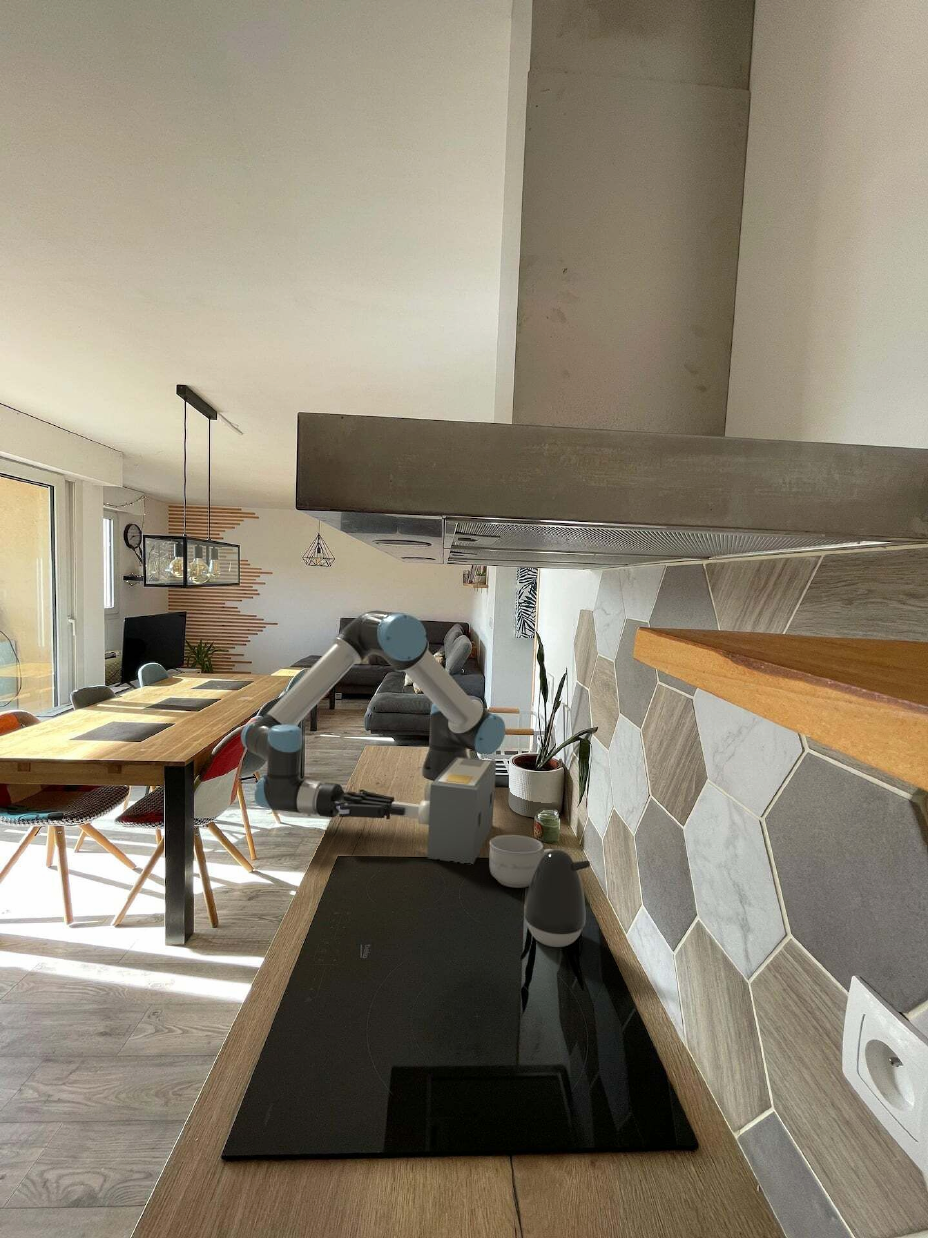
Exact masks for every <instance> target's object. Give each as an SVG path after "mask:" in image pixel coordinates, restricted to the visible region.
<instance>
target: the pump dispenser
mask: <svg viewBox="0 0 928 1238" xmlns="http://www.w3.org/2000/svg"><path fill="white" fill-rule="evenodd" d="M589 867H591V862H590V861H589V860H588V859H587V860H579V861H574V859H573V858H572V856H571V855H570V854H569V852H567V851H566V850H563V849H559V848H558V849H557V848H556V849H553V850H551V851H549V852H547V853H546V854H545V855H544V856H543V858H542V859H541V861H540V862H539V864H538V866H537V868H536V870H535V872H534V875H533V877H532V880H531V883H530V885H529V886H528V891H527V893H526V895H527V896H526V899H525V904H524V918H525V921H526V924H527V928H528V930H529V932H530V933H531V935H532V936H533V938H534V939H535V940H537V941H538V942H539V943H541V944H542V945H545V946H548V947H551V948H552V947H553V948H562V947H567V946H569V945H571V944H573V943H574V942H575V941H576V940H577V939H578V938H579V936H580V935H581V933H582V931H583V928H584V927H585V925H586V916H587V914H586V913H587V912H586V911H587V910H586V900H585V893H584V888H583V883H582V878H581V876H580V872H579V871H580V870H585V869H587V868H589Z"/></svg>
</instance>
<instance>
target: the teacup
mask: <svg viewBox="0 0 928 1238" xmlns="http://www.w3.org/2000/svg"><path fill="white" fill-rule="evenodd" d="M551 850H554V849H552V848H547V849H544V845H543V842H541V841H540V840H538V839H536V838H533V837H529V836H526V835H519V834H518V835H517V834H501V835H497V836H494V837H493V838H490V840H489V855H488V856H489V859H488V860H489V861H488V863H489V864H488V865H489V871H490V874H491V876H492V877H493V878H495V879H496V880H497V882H498V883H499V884H501V885H503V886H505V887H507V888H508V887H509V888H516V889H519V888H521V889H522V888H526V887H529V886H530V883H531V880H532V877H533V875H534V872H535V870H536V868H537V866H538V864H539V862H540V861H541V859H542V858H543V856H544V855H545V854H546V853H547V852H549V851H551Z"/></svg>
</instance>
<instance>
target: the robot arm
mask: <svg viewBox="0 0 928 1238" xmlns="http://www.w3.org/2000/svg"><path fill="white" fill-rule="evenodd" d="M426 635H427V632H426V629H425V627H424V625H423V623H422V622H421V620H419V619H418V618H416V617H415V616H413V615H410V614H407V613H404V612H393V611H382V610H371V611H370V610H369V611H366V612H364V613H362V614H361V615H359V616H357V617H356V618H355V619H353V620H352V621H351V622H350V623H348V624H347V625H346V626H345V627H344V628H343V629H342V630H341V631H340V632H339V633H338V634H337V635H336V636H335V637H334V638H333V643H332V646H331V647H329V648H328V650H327V651H326V652H324V654H323V655H322V656H321V657H320V658H319V659H318V660H317V661H316V662H315V663H314V664H313V665H312V666H311V667H310V669H308V670H307V672H305V674H303V676H302V677H300V679H298V681H296V683H295V684H294V685H293V686H292V687H291V688H290V689H289V690H288V691H287V692H286V693H285V694H284V695H283V696H282V697H280V699H279V700H278V702H276V704H274V706H272V708H271V709H270V710H269V711H268V712H267V713H266V714H265V715H264V716H263V717H262V718H261V719H260V720H254V721H251V722H249V723H247V724H246V725H245V726H244V728H243V729H242V731H241V734H240V740H241V741H240V742H241V744H242V746H243V747H244V748H245V749H246V750H248V752H250V753H251V754H254V755H256V756H258V757H260V758H261V759H263V760H265V761H267V762H266V763H267V764H266V765H267V766H266V767H267V768H266V769H267V771H266V774H265V775H262V776H261V777H260V778H259V779H258V780H257V782H256V785H255V789H254V801H255V803H256V804H257V806H258V807H261V808H263V809H269V810H272V811H277V812H278V811H281V812H289V813H298V814H303V815H305V814H306V815H307V816H308V817H311V816H312V815H313V816H320V817H324V818H335V817H337V816H338V815H339V818H348V817H349V818H351V817H352V818H371V819H384V818H385V817H386V820H390V819H391V816H394V817H401V818H402V817H403V818H409V819H417V820H418V811H419V806H420V803H419V804H418V803H409V802H402V801H395V797H394V796H389V795H383V794H379V793H376V792H375V793H374V792H372V791H371V792H370V791H368V790H365V789H359V791H358V793H357V792H356V791H348V792H345V791H344V789H343V787H342V785H341V784H340V783H333V782H324V781H318V780H311V779H303V778H301V766H302V765H301V763H302V747H303V739H302V738H303V734H302V729H301V727H299V726H297V725H299V723H300V722H301V721H302V720H304V718H305V717H306V716H307V715H308V714H309V713H310V711H311V710H312V709H313V708H314V707H316V706H317V704H318V703H319V702H320V701H321V700H322V699H323V697H325V696H326V695H327V693H328V692H329V691H331V689H333V687H334V686H335V685H336V684H337V683H338V682H339V681H340V680H341V679H342V678H343V677H344V676H345V675H346V674H347V672H348V671H350V669H351V668H352V667H353V666H354V665H360V664H361V663H362V662H363V661H364V660H365V659H366V658H367V657H368V656H369V657H370V656H371V655H377V656H380V657H382V658H383V659H384V660H385V661H386V662H387V663H388V664H389V665H390V666H391V668H392V669H393V670H395V672H404V673H405V674H406V675H407V676H408V677H409V678H410V680H412V682H413V683H414V684H415V685H416V686H417V687H418V688H419V690H421V692H422V693H423V694H424V695H425V696H426V697H427V698H428V699H429V701H431V702H432V704H431V707H430V713H429V717H430V718H429V742H428V751H427V753H426V756H425V758H424V761H423V764H422V767H421V768H422V769H421V775H422V776H423V777H425V778H427V779H429V780H432V781H435V780H436V778H437V777H438V776H439V775H440V774H441V773H442V772H443V771H444V770H445V769H446V768H447V767H448V766H449V764H450V763H451V762H452V761H453V760H454V759H455V758H456V757H462V758H469V755H468V751H467V750H470V751H473V752H476V753H478V754H479V755H480V754H482V755H486V756H487V755H488V756H489V755H491V754H494V753H496V751H498V749H500V747H501V746H502V744H503V742H504V740H505V733H506V723H505V721H504V720H503V718H502V717H501V716H499V715H498V714H495V713H493V714H492V713H490V711H489V710H488V709H487V708H486V707H485V705H483V703H482V702H480V701H479V700H477V699H471V698H470V696H469V695H468V694H466V692H465V691H464V690H463V689H462V688H461V686H459V684H458V683H457V681H455V680H454V678H453V677H452V676H451V675H450V673H449V672H448V671H447V670H446V668H444V667H443V665H442V663H440V662H439V661H438V659H437V658H436V657H435V656H434V655H433V654H432V653H431V652H430V650H429V646H430V644H429V640H428V638H427V637H426Z"/></svg>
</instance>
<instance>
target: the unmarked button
mask: <svg viewBox="0 0 928 1238" xmlns="http://www.w3.org/2000/svg"><path fill="white" fill-rule="evenodd" d="M433 782H434V781H431V780H428V781H427V782H426V783H425V787H424V793H423V794H424V795H423V798H424V799H423V800H424V801H430V792H431V784H432V783H433Z"/></svg>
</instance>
